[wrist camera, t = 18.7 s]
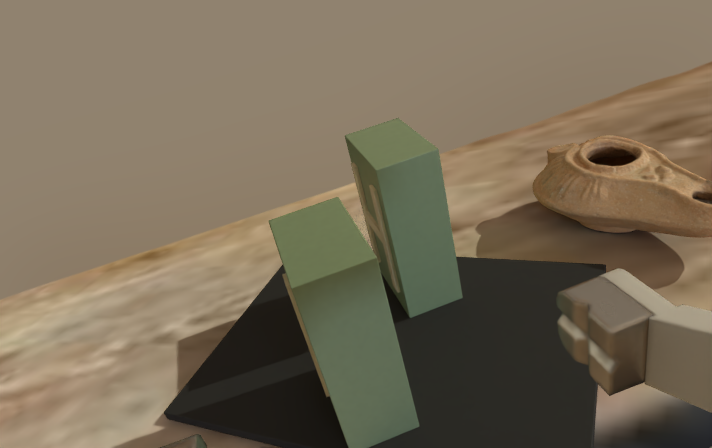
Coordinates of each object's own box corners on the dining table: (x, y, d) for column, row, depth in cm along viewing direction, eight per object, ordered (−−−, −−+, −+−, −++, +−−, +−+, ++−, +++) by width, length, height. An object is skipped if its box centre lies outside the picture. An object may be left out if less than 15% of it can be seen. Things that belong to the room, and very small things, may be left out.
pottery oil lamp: (690, 292, 30) (622, 195, 28) (555, 257, 41) (500, 187, 39) (791, 183, 31) (732, 84, 29) (632, 179, 42) (582, 107, 41)
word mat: (167, 419, 31) (163, 412, 31) (297, 254, 43) (295, 248, 43) (587, 522, 21) (587, 513, 21) (605, 271, 33) (606, 264, 33)
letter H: (406, 319, 33) (371, 171, 28) (375, 269, 38) (341, 136, 33) (463, 298, 33) (438, 148, 28) (424, 251, 38) (398, 117, 33)
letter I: (347, 457, 26) (285, 290, 21) (318, 371, 31) (264, 221, 26) (420, 426, 26) (377, 256, 21) (380, 347, 31) (338, 196, 26)
